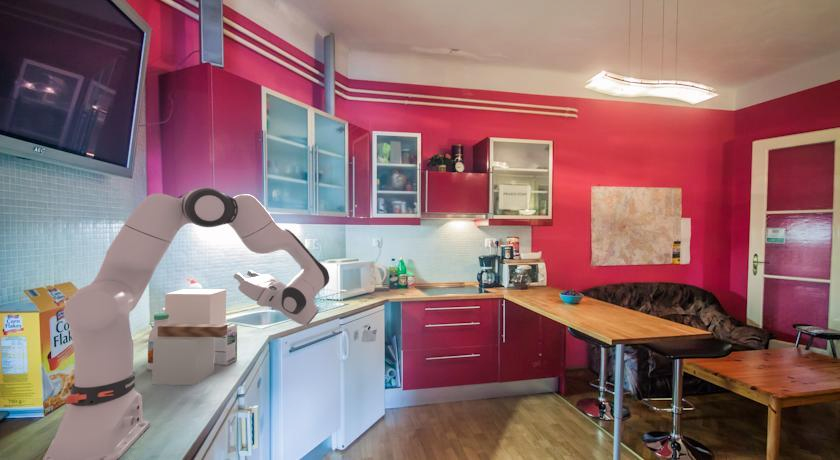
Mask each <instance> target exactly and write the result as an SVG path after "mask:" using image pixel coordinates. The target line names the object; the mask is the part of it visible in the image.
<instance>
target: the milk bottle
mask: <svg viewBox="0 0 840 460" xmlns="http://www.w3.org/2000/svg"><path fill="white" fill-rule="evenodd" d="M168 319H169V314H168V313H165V312H163V313H156V314H154V315H153V322H154V323H153V327H152V328H151V330H150V332H149V335H148V339H147V340H148V341H147V342H148V343H147V370H148V371H152V372H153V340H154V339H157V338H159V336H158V326H160V325H163V324H169V323H168Z"/></svg>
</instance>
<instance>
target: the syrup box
mask: <svg viewBox="0 0 840 460" xmlns="http://www.w3.org/2000/svg"><path fill="white" fill-rule="evenodd" d="M226 324H227V335H225V336H223V337H214V365H221V366H222V365H223V366H228V365H229V364H231V363H233V362H235V361H237V360H238V324H236V323H226Z"/></svg>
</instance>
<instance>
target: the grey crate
mask: <svg viewBox="0 0 840 460" xmlns="http://www.w3.org/2000/svg"><path fill="white" fill-rule="evenodd" d="M214 367H215V364H214V337H159V338H157V339H154V340H153V371H152V379H151V380H152V382H151V383H152V385H153V386H196V385H197V384H199V383H200V382H201V381H203V380H204V379H206V378H207V377H209V376H210V375H211V374H213V373H214V371H215V369H214Z"/></svg>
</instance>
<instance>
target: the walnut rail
mask: <svg viewBox="0 0 840 460" xmlns="http://www.w3.org/2000/svg"><path fill="white" fill-rule="evenodd" d="M227 324H228V323H226V324H163V325H160V326H158V336H159V337H223V336H225V335H227Z"/></svg>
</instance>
